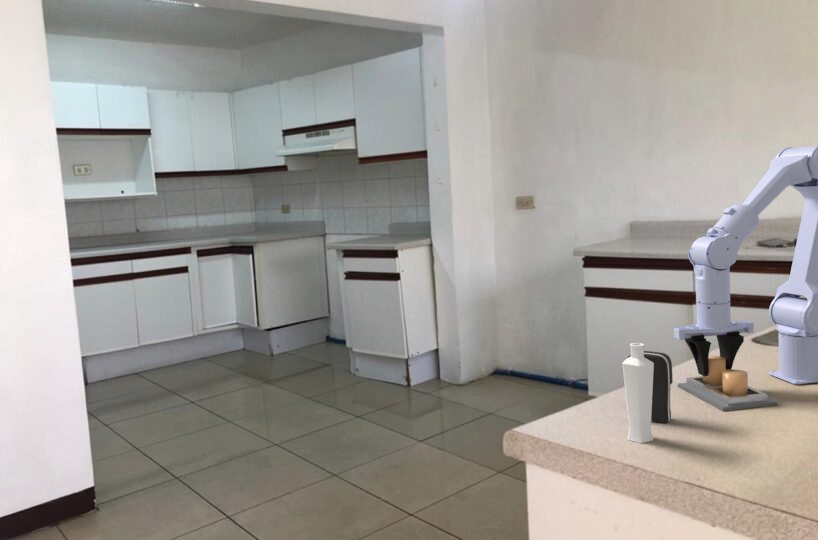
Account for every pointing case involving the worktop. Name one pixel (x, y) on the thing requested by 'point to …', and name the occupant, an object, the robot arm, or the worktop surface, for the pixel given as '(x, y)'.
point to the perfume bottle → (638, 393)
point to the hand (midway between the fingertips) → (714, 373)
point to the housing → (728, 392)
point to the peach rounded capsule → (715, 370)
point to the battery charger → (660, 385)
